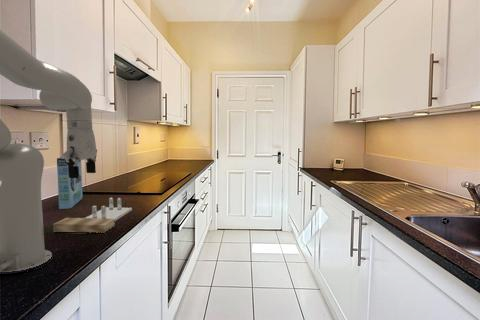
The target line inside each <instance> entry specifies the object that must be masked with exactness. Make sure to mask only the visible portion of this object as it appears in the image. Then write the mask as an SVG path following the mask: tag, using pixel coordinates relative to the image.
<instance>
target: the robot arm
mask: <svg viewBox="0 0 480 320" xmlns="http://www.w3.org/2000/svg"><path fill="white" fill-rule="evenodd" d="M0 75H1V76H3V77H4V78H5V79H7V80H9V81H10V82H12V83H13V84H14V85H17V86H20V87H23V88H26V89H31V90H36V91H40V92H39V97H38V98H39V101H40V103H41V104H42V105H43V106H44V107H46V108H47V109H49V110H53V111H65V114H66V127H67V128H66V130H67V132H66V133H67V135H66V151H65V152H64V153H63V154H62V157H64V159H65V162H66V163H67V166H68V172H69V178H79V167H78V166H77V164H78V162H79V159H80V160H81V161H83V160H84V161H85V160H86V162H85V170H86V174H95V173H96V171H97V169H96V163H97V159H96V158H97V153H98V149H97V145H96V137H95V133H94V129H93V113H92V103H93V95H92V94H91V91H90V90H89V88H88V87H87V86H86V85H85V84H84V83H83V82H82V81H81V80H80V79H79V78H77V76H75V75H73V74H72V73H70V72H68V71H67V70H66V71H65V70H64V69H61V68H58V67H56V66H54V65H52V64H50V63H47V62H45V61H41V60H39V59H37V58H36V57H35V56H34V55H32V54H31V53H30V52H28V50H26V49H25V48H23V46H21V45H20V44H19V43H18V42H16V41H15V40H14V39H12V38H11V37H10V36H9V35H8V34H7V33H5V32H4V31H2V29H0ZM11 141H12V133H11V131H10V129H9V127H8V126H7V125H6V123H5V122H4V121H3V120H2V119H1V118H0V182H1V184H0V272H12V271H21V270H26V269H29V268H33V267H36V266H39V265H41V264H43V263H45V262H47V261H48V260H49V259H51V257H52V258H53V253H52V252H51V251H50V250H48V249H46V248H45V235H44V234H45V232H44V231H45V230H44V218H43V217H44V215H43V203H42V179H43V177H42V176H43V172H44V167H45V165H44V164H45V160H44V157H43V154H42V153H41V151H40V150H39V149H38V148H36V147H34V146H33V145H29V144H24V143H23V144H22V143H11ZM73 160H75V161H73ZM51 260H52V259H51Z"/></svg>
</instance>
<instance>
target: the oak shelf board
mask: <svg viewBox="0 0 480 320" xmlns="http://www.w3.org/2000/svg"><path fill="white" fill-rule="evenodd" d="M115 222H116V221H115ZM115 222H114V219H101V218H86V217H65V218H63V219H61V220H59V221H57V222H54V223H53V224H52V229H53V233H54V232H90V233H91V232H96V233H98V232H99V233H100V232H101V233H105V232H106V231H108V230H109V229H111V228H112V227H114V226H115V227H116V223H115ZM115 227H114V228H115ZM111 230H112V229H111ZM108 232H109V231H108ZM105 234H106V233H105Z"/></svg>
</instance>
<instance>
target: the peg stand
mask: <svg viewBox="0 0 480 320" xmlns="http://www.w3.org/2000/svg"><path fill="white" fill-rule="evenodd" d="M116 205H117V207H114V197H109V198H108V206H107V205H101V207H100V210H98V207H97V204H96V205H92V206H91V214H90V215H88V216H86V217H85V218H101V219H114V221H115V222H116V221H118V220H119V219H121V218H122V217H124V216H125V215H126V214H128V213H130V212H131V211H133V208H132V207H122V198H121V197H117V198H116Z"/></svg>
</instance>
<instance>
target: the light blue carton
mask: <svg viewBox="0 0 480 320" xmlns="http://www.w3.org/2000/svg"><path fill="white" fill-rule="evenodd" d="M73 161H75V160H73ZM77 166H78V167H79V178H69V172H68V166H67V163H66V162H65V159H64V157H63V156H62V157H59V158H58V157H57V158H56V168H57V169H56V171H57V191H58V193H57V194H58V209H59V210H69V209H70V208H71V209H72V208H74V206H75V205H76V204H78V203H79V202H80V201H81V200H82V199H83V196H84V195H83V176H82V175H83V174H82V160H80V159H79V162H78V164H77Z"/></svg>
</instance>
